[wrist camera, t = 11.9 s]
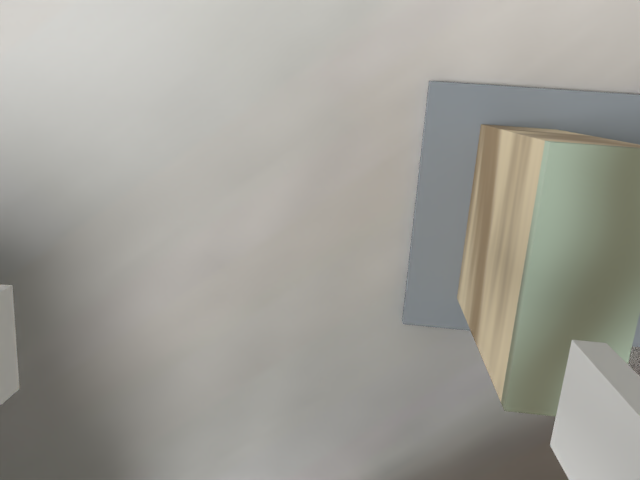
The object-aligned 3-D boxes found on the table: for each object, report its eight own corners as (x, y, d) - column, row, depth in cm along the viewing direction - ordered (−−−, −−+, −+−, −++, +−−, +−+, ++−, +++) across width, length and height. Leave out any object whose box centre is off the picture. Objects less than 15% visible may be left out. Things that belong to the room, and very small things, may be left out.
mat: (402, 320, 34) (402, 324, 33) (429, 81, 30) (430, 80, 29) (746, 353, 32) (753, 357, 32) (818, 106, 29) (827, 106, 28)
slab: (457, 298, 32) (504, 410, 21) (480, 124, 30) (550, 142, 18) (526, 304, 32) (614, 422, 20) (556, 129, 29) (676, 151, 18)
